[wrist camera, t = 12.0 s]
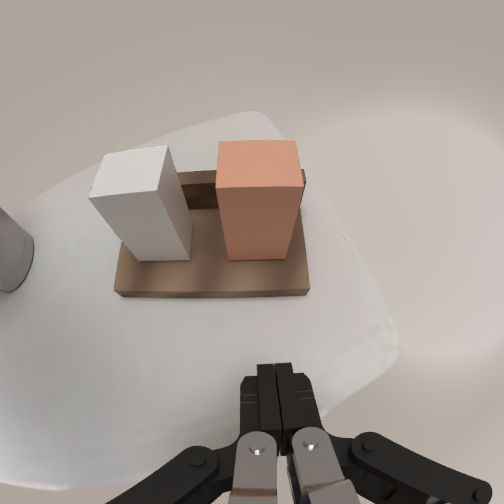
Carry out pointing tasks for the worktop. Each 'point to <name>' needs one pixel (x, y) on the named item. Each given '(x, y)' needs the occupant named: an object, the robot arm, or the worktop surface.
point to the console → (213, 258)
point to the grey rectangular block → (144, 203)
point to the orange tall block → (258, 197)
